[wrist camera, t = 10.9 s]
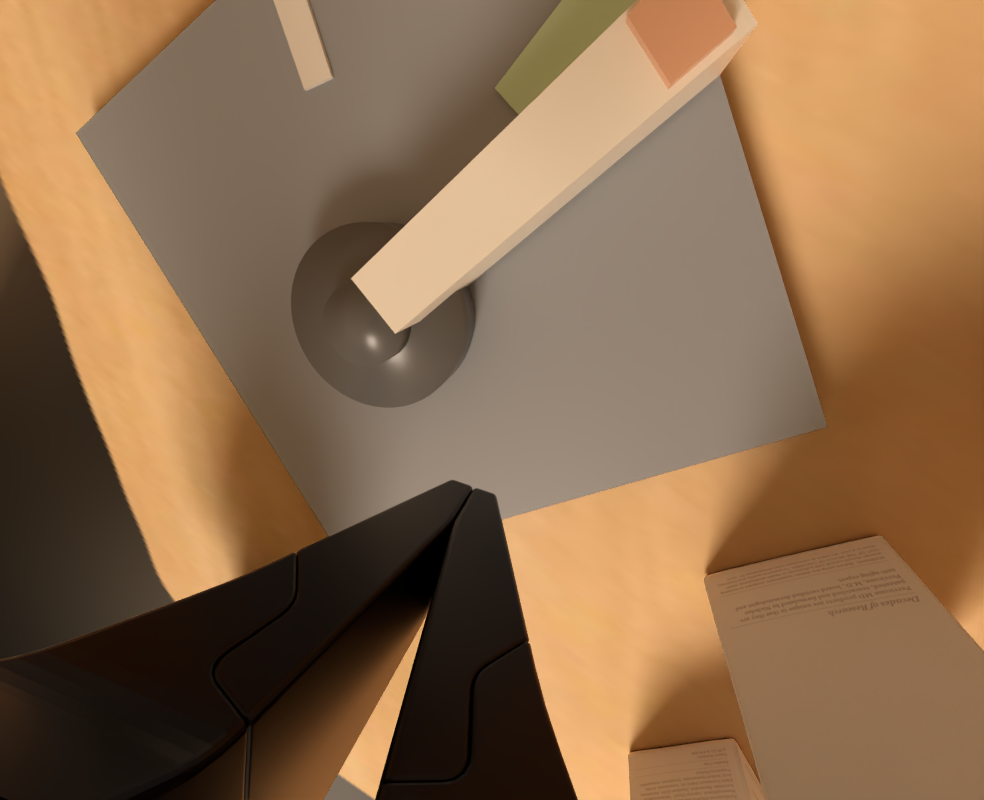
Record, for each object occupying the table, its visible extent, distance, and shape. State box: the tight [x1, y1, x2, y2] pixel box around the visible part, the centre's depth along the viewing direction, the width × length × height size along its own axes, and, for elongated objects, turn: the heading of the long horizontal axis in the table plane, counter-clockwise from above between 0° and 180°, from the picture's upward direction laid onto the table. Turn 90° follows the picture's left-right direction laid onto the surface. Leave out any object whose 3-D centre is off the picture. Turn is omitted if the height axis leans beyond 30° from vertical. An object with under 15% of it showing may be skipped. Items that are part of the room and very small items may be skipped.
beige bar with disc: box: [291, 0, 758, 408], centre depth 15 cm, size 17×7×4 cm, turn 130°
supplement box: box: [704, 536, 984, 800], centre depth 15 cm, size 7×7×13 cm
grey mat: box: [76, 0, 827, 537], centre depth 19 cm, size 23×23×1 cm
